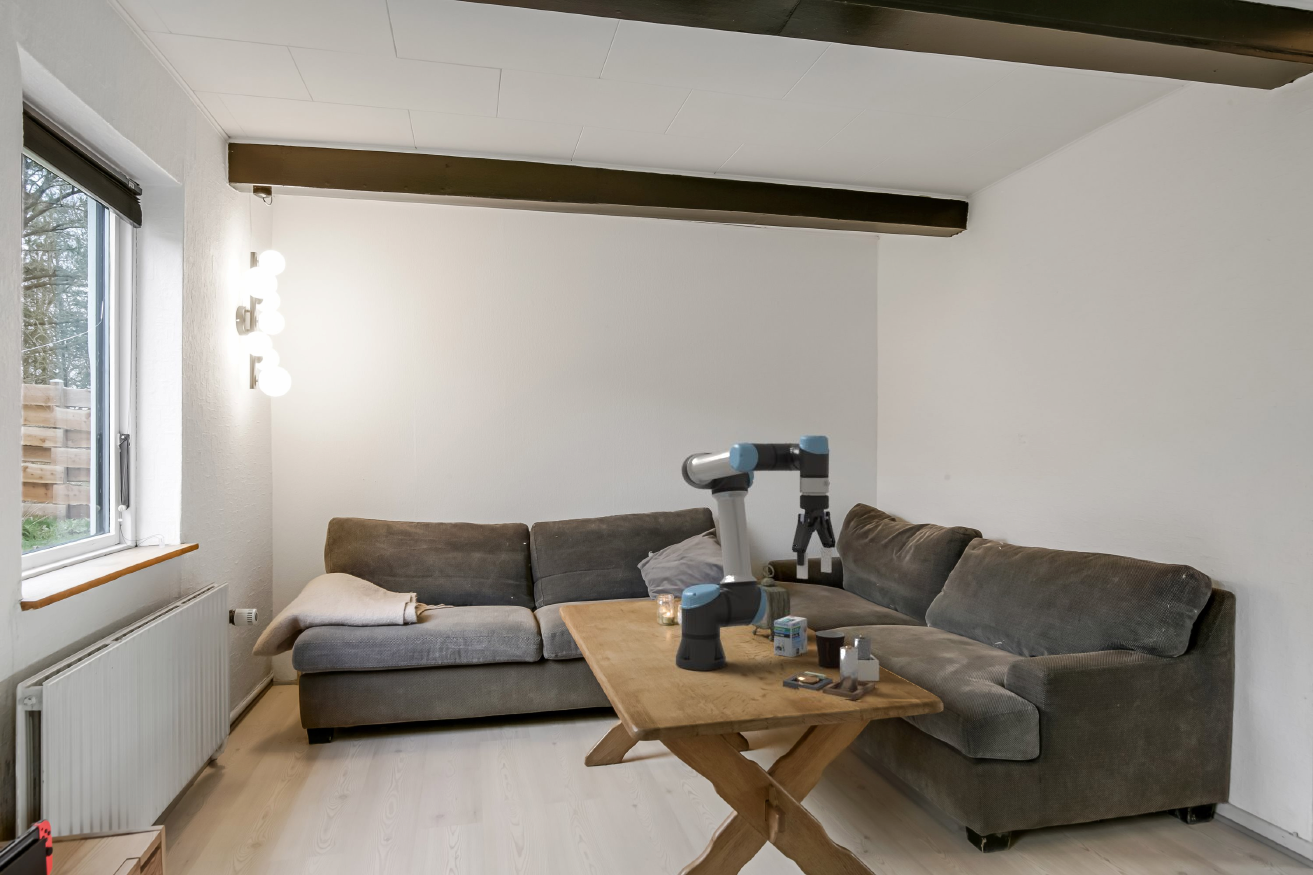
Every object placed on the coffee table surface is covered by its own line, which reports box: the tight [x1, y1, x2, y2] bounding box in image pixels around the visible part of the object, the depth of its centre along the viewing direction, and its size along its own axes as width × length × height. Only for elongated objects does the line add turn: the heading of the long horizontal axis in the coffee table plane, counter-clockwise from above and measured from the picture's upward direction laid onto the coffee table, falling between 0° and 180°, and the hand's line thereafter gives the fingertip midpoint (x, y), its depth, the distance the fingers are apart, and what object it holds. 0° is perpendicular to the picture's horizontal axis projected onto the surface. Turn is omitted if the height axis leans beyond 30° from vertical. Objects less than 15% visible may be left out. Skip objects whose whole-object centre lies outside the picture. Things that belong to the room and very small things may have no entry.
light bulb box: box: [773, 615, 808, 658], centre depth 254 cm, size 11×7×11 cm, turn 143°
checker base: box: [782, 671, 834, 692], centre depth 218 cm, size 10×10×2 cm
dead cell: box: [853, 634, 872, 660], centre depth 224 cm, size 5×5×12 cm
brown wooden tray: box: [822, 679, 876, 702], centre depth 212 cm, size 13×9×2 cm
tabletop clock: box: [751, 564, 791, 642], centre depth 276 cm, size 14×9×25 cm, turn 25°
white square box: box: [858, 654, 880, 682], centre depth 224 cm, size 8×8×6 cm
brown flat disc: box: [796, 673, 819, 685], centre depth 218 cm, size 6×6×1 cm
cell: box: [839, 645, 858, 693], centre depth 212 cm, size 5×5×12 cm
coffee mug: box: [814, 630, 846, 670], centre depth 235 cm, size 12×9×10 cm
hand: (814, 575), depth 209 cm, fingers open, 13 cm apart
